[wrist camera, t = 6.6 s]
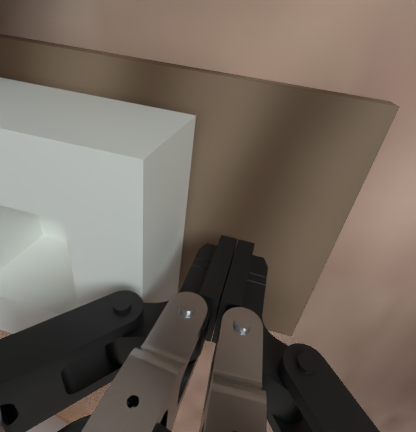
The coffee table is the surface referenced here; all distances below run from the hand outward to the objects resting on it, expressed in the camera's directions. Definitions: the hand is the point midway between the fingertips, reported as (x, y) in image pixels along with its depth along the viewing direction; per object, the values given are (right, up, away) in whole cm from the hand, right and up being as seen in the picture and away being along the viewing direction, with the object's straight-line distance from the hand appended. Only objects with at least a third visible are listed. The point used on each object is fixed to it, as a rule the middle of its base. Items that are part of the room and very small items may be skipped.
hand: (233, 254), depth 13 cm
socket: (-7, +3, +2) cm, 8 cm away
